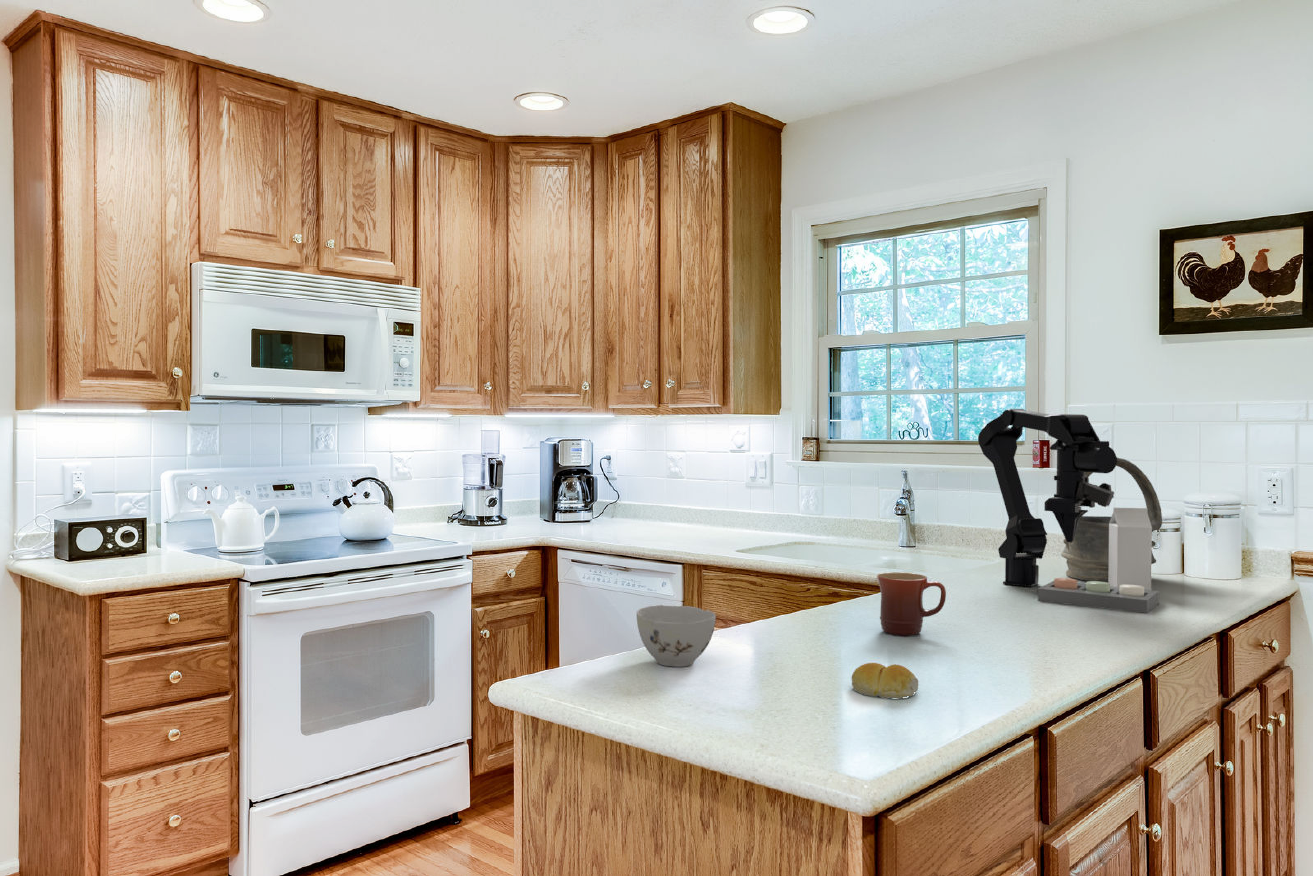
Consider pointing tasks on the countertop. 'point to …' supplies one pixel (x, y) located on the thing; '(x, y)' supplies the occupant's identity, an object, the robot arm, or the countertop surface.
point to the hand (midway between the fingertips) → (1069, 542)
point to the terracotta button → (1065, 583)
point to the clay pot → (1105, 533)
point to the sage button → (1098, 586)
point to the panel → (1099, 598)
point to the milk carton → (1130, 548)
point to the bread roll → (884, 681)
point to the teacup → (675, 633)
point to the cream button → (1131, 590)
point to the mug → (905, 602)
